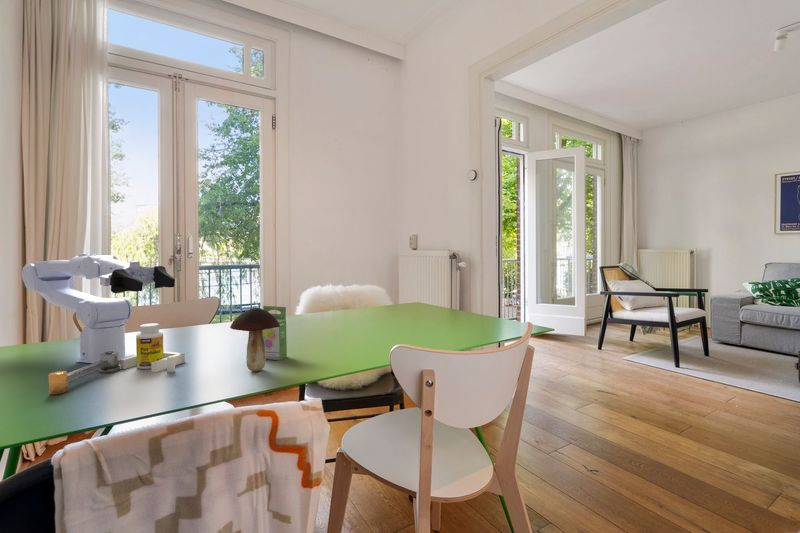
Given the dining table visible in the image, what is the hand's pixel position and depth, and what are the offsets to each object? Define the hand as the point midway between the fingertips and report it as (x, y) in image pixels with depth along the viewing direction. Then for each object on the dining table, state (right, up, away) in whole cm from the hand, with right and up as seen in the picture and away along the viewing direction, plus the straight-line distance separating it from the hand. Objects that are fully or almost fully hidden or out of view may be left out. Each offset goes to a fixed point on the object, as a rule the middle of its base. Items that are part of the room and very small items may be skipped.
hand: (157, 284), depth 92 cm
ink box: (+22, -20, +12) cm, 33 cm away
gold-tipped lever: (-11, -20, -6) cm, 24 cm away
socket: (-4, -20, +4) cm, 21 cm away
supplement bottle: (-4, -20, +4) cm, 21 cm away
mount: (-12, -20, +1) cm, 23 cm away
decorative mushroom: (+23, -21, +1) cm, 31 cm away
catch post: (+3, -20, 0) cm, 21 cm away
